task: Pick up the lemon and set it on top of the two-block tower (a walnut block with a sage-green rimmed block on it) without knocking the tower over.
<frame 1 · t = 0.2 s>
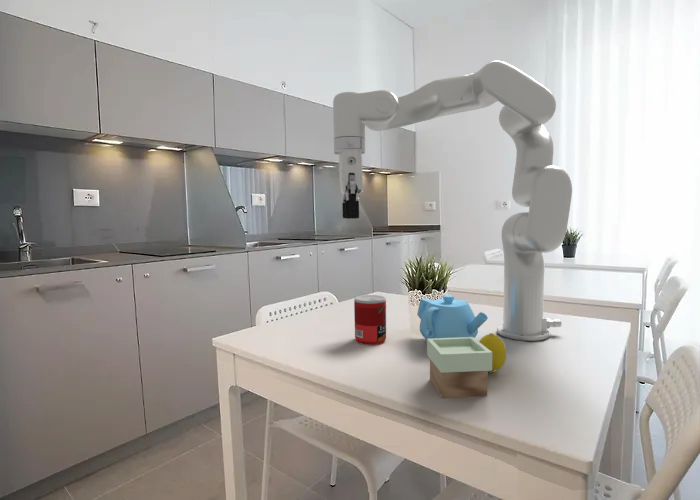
hand: (350, 218, 101), 31 cm above the table, tool pointing down, fingers open, 9 cm apart
lemon: (491, 373, 83), on the table
walnut block: (457, 388, 76), on the table, touching sage top block
canned food: (370, 341, 105), on the table
teapot: (450, 344, 101), on the table
sage top block: (457, 362, 75), point 5 cm above the table, touching walnut block
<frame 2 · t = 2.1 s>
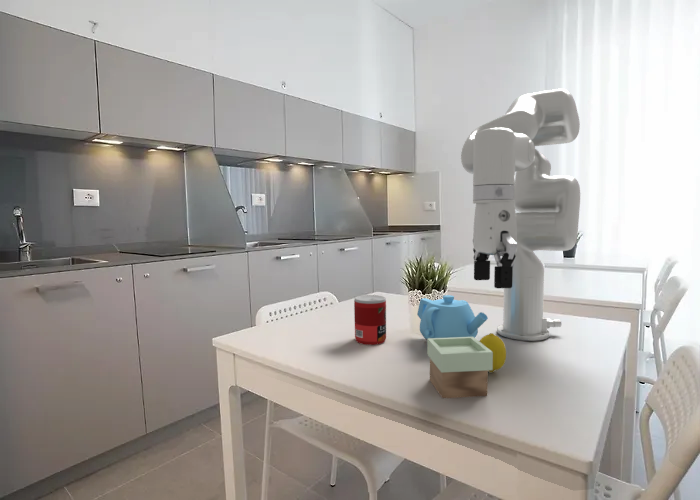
hand: (491, 283, 81), 18 cm above the table, tool pointing down, fingers open, 9 cm apart
walnut block: (457, 388, 76), on the table
sage top block: (458, 362, 75), point 5 cm above the table
everything else where it was.
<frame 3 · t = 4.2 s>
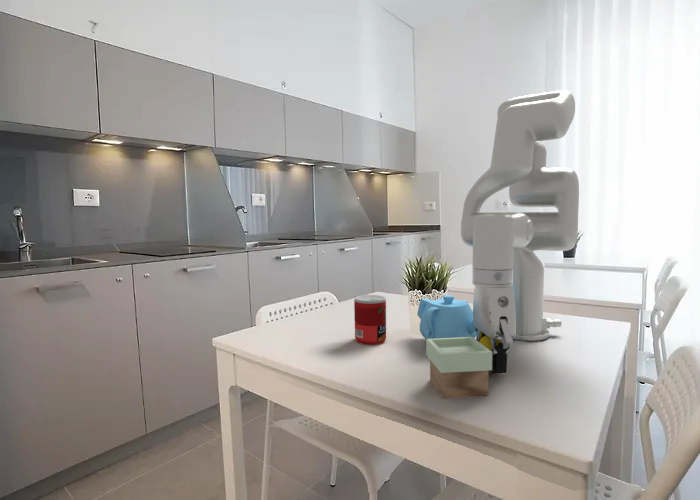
hand: (491, 366, 82), 1 cm above the table, tool pointing down, fingers closed on lemon, 5 cm apart
lemon: (491, 373, 83), on the table, touching gripper
walnut block: (457, 388, 76), on the table, touching sage top block
sage top block: (457, 362, 75), point 5 cm above the table, touching walnut block
everything else where it was.
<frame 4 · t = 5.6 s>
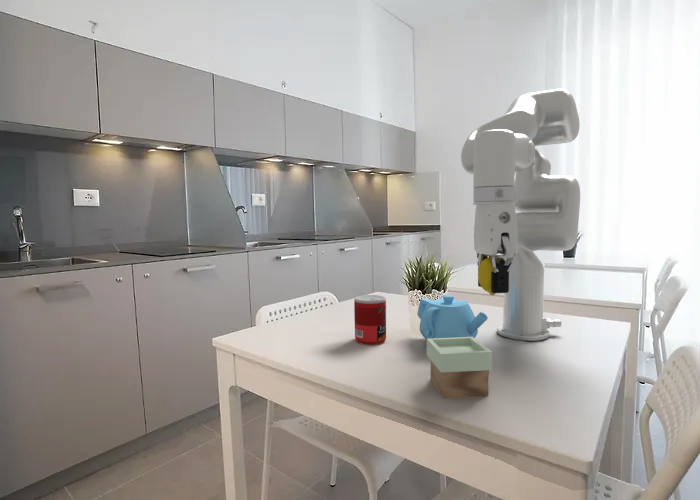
hand: (492, 288, 81), 17 cm above the table, tool pointing down, fingers closed on lemon, 5 cm apart
lemon: (492, 296, 81), point 15 cm above the table, touching gripper
everything else where it was.
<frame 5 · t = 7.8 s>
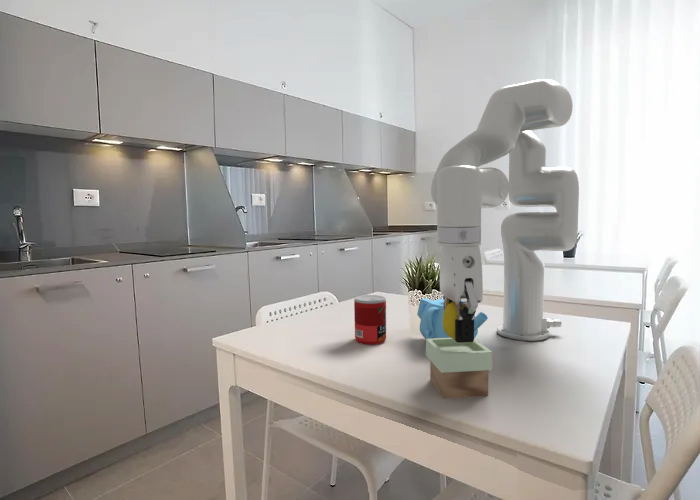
hand: (458, 335, 75), 10 cm above the table, tool pointing down, fingers closed on lemon, 5 cm apart
lemon: (458, 343, 75), point 8 cm above the table, touching gripper
everything else where it was.
when the fingers open (10 cm above the table, at t = 8.1 s): lemon drops 1 cm, resting on sage top block.
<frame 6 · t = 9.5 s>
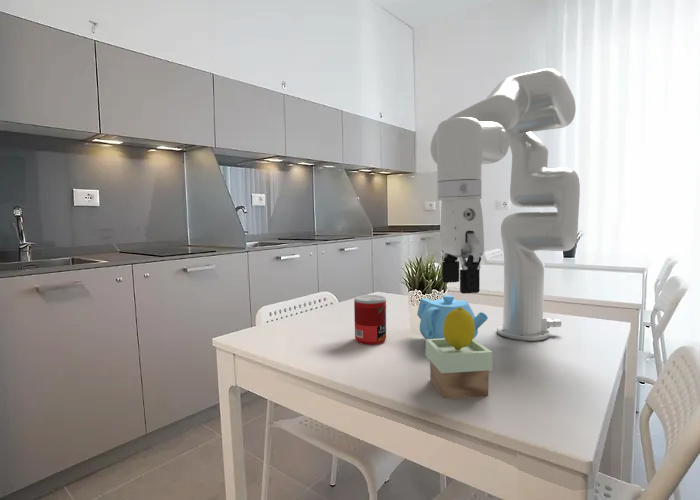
hand: (459, 287, 75), 18 cm above the table, tool pointing down, fingers open, 9 cm apart
lemon: (457, 351, 75), point 7 cm above the table, touching sage top block
sage top block: (457, 362, 75), point 5 cm above the table, touching lemon, walnut block
everything else where it was.
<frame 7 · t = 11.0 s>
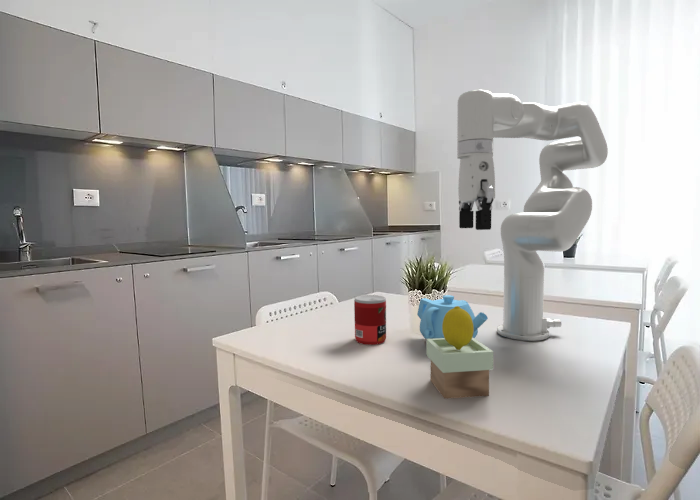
hand: (474, 228, 92), 28 cm above the table, tool pointing down, fingers open, 9 cm apart
nothing on the table moved.
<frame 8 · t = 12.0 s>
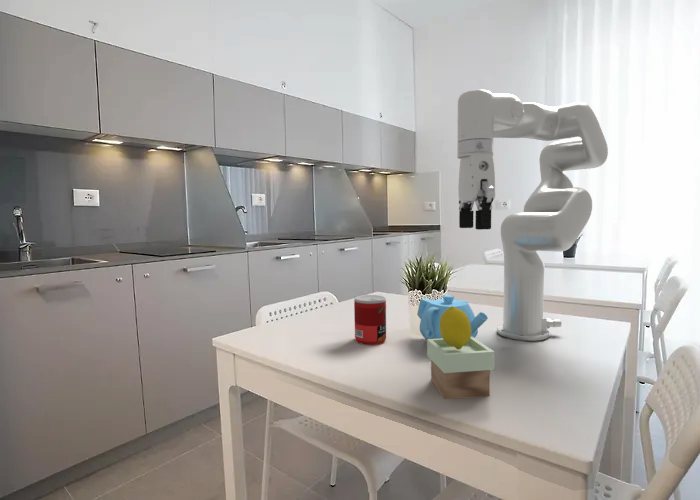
hand: (474, 228, 92), 28 cm above the table, tool pointing down, fingers open, 9 cm apart
nothing on the table moved.
at the end: lemon 0.4 cm from the sage top block (horizontally); lemon point 6.8 cm above the table; walnut block tilted 0° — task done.
